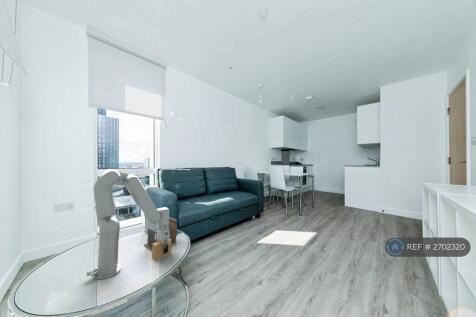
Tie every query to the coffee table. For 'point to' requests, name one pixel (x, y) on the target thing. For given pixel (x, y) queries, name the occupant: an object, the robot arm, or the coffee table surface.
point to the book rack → (172, 233)
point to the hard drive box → (150, 225)
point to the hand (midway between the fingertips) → (162, 250)
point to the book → (159, 250)
